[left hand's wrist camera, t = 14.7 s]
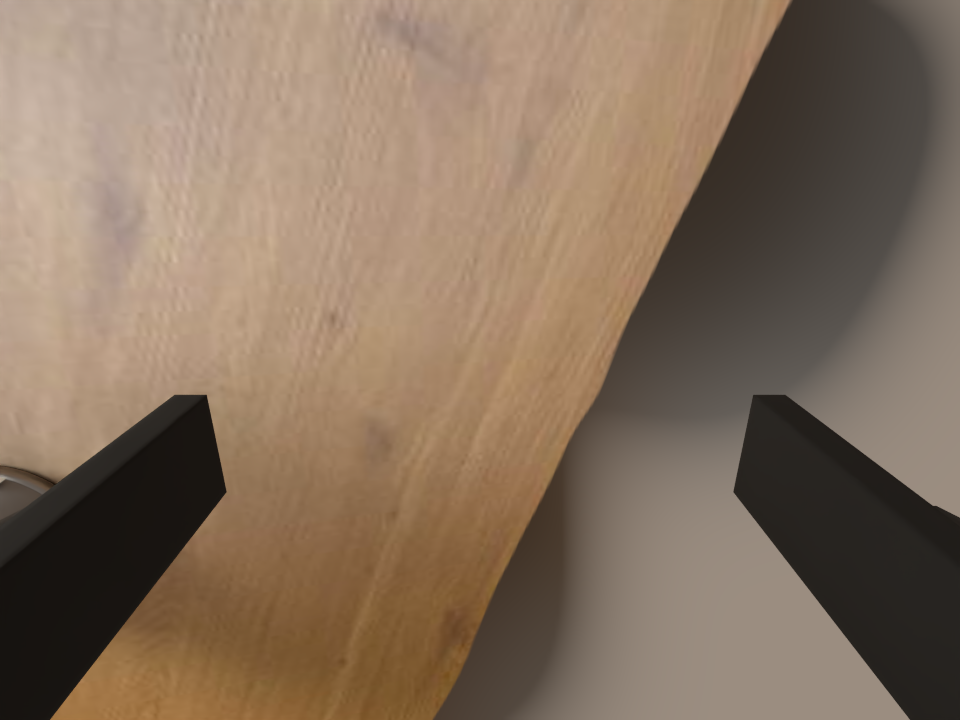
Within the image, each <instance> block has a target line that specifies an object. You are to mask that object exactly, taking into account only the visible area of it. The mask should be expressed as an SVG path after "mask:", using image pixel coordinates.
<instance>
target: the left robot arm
mask: <svg viewBox="0 0 960 720" xmlns="http://www.w3.org/2000/svg"><path fill="white" fill-rule="evenodd" d="M225 493H226V487H225V482H224V477H223V472H222V467H221V462H220V458H219V453H218V448H217V443H216V438H215V433H214V428H213V423H212V419H211V414H210V409H209V404H208V399H207V395H174V396H173V397H171V398H170V399H169V400H167V401H166V402H165V403H163V404H162V405H161V406H159V407H158V408H157V409H155V410H154V411H153V412H151V413H150V414H149V415H147V416H146V417H145V418H143V419H142V420H141V421H139V422H138V423H137V424H135V425H134V426H133V427H131V428H130V429H129V430H127V431H126V432H125V433H123V434H122V435H121V436H119V437H118V438H117V439H115V440H114V441H113V442H111V443H110V444H109V445H108V446H106V447H105V448H104V449H102V450H101V451H100V452H98V453H97V454H96V455H94V456H93V457H92V458H90V459H89V460H88V461H86V462H85V463H84V464H82V465H81V466H80V467H78V468H77V469H76V470H74V471H73V472H72V473H70V474H69V475H68V476H66V477H65V478H64V479H62V480H61V481H60V482H58V483H57V484H56V485H54V484H52V483H50V482H49V481H47V480H45V479H43V478H41V477H38V476H36V475H33V474H31V473H28V472H25V471H22V470H19V469H15V468H10V467H5V466H0V720H50V719H51V718H52V716H53V715H54V714H55V712H56V711H57V710H58V709H59V707H60V706H61V705H62V703H63V702H64V701H65V700H66V698H67V697H68V696H69V694H70V693H71V692H72V691H73V689H74V688H75V687H76V685H77V684H78V683H79V682H80V680H81V679H82V678H83V676H84V675H85V674H86V673H87V671H88V670H89V669H90V667H91V666H92V665H93V664H94V662H95V661H96V660H97V658H98V657H99V656H100V654H101V653H102V652H103V651H104V649H105V648H106V647H107V645H108V644H109V643H110V642H111V640H112V639H113V638H114V636H115V635H116V634H117V633H118V631H119V630H120V629H121V627H122V626H123V625H124V624H125V622H126V621H127V620H128V618H129V617H130V616H131V615H132V613H133V612H134V611H135V609H136V608H137V607H138V606H139V604H140V603H141V602H142V600H143V599H144V598H145V596H146V595H147V594H148V593H149V591H150V590H151V589H152V587H153V586H154V585H155V584H156V582H157V581H158V580H159V578H160V577H161V576H162V575H163V573H164V572H165V571H166V569H167V568H168V567H169V566H170V564H171V563H172V562H173V560H174V559H175V558H176V557H177V555H178V554H179V553H180V551H181V550H182V549H183V548H184V546H185V545H186V544H187V542H188V541H189V540H190V538H191V537H192V536H193V535H194V533H195V532H196V531H197V529H198V528H199V527H200V526H201V524H202V523H203V522H204V520H205V519H206V518H207V517H208V515H209V514H210V513H211V511H212V510H213V509H214V508H215V506H216V505H217V504H218V502H219V501H220V500H221V499H222V497H223V496H224V495H225ZM734 493H735V495H736V496H737V497H738V499H739V500H740V501H741V502H742V504H743V505H744V506H745V508H746V509H747V510H748V511H749V513H750V514H751V515H752V517H753V518H754V519H755V520H756V522H757V523H758V524H759V526H760V527H761V528H762V529H763V531H764V532H765V533H766V535H767V536H768V537H769V538H770V540H771V541H772V542H773V544H774V545H775V546H776V548H777V549H778V550H779V551H780V553H781V554H782V555H783V557H784V558H785V559H786V560H787V562H788V563H789V564H790V566H791V567H792V568H793V569H794V571H795V572H796V573H797V575H798V576H799V577H800V578H801V580H802V581H803V582H804V584H805V585H806V586H807V587H808V589H809V590H810V591H811V593H812V594H813V595H814V596H815V598H816V599H817V600H818V602H819V603H820V604H821V606H822V607H823V608H824V609H825V611H826V612H827V613H828V615H829V616H830V617H831V618H832V620H833V621H834V622H835V624H836V625H837V626H838V627H839V629H840V630H841V631H842V633H843V634H844V635H845V636H846V638H847V639H848V640H849V642H850V643H851V644H852V645H853V647H854V648H855V649H856V651H857V652H858V653H859V654H860V656H861V657H862V658H863V660H864V661H865V662H866V664H867V665H868V666H869V667H870V669H871V670H872V671H873V673H874V674H875V675H876V676H877V678H878V679H879V680H880V682H881V683H882V684H883V685H884V687H885V688H886V689H887V691H888V692H889V693H890V694H891V696H892V697H893V698H894V700H895V701H896V702H897V703H898V705H899V706H900V707H901V709H902V710H903V711H904V712H905V714H906V715H907V716H908V718H909V719H910V720H960V518H959V517H957V516H955V515H953V514H951V513H949V512H947V511H945V510H943V509H941V508H939V507H937V506H932V505H931V504H930V503H928V502H927V501H926V500H924V499H923V498H922V497H920V496H919V495H918V494H916V493H915V492H914V491H912V490H911V489H910V488H908V487H907V486H906V485H904V484H903V483H902V482H900V481H899V480H898V479H896V478H895V477H894V476H892V475H891V474H890V473H888V472H887V471H886V470H884V469H883V468H882V467H880V466H879V465H878V464H876V463H875V462H874V461H872V460H871V459H870V458H868V457H867V456H866V455H864V454H863V453H862V452H860V451H859V450H858V449H856V448H855V447H854V446H852V445H851V444H850V443H849V442H847V441H846V440H845V439H843V438H842V437H841V436H839V435H838V434H837V433H835V432H834V431H833V430H831V429H830V428H829V427H827V426H826V425H825V424H823V423H822V422H821V421H819V420H818V419H817V418H815V417H814V416H813V415H811V414H810V413H809V412H807V411H806V410H805V409H803V408H802V407H801V406H799V405H798V404H797V403H795V402H794V401H793V400H791V399H790V398H789V397H787V396H786V395H753V399H752V404H751V409H750V414H749V419H748V423H747V428H746V433H745V438H744V443H743V448H742V453H741V458H740V463H739V468H738V472H737V477H736V482H735V487H734Z"/></svg>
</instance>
